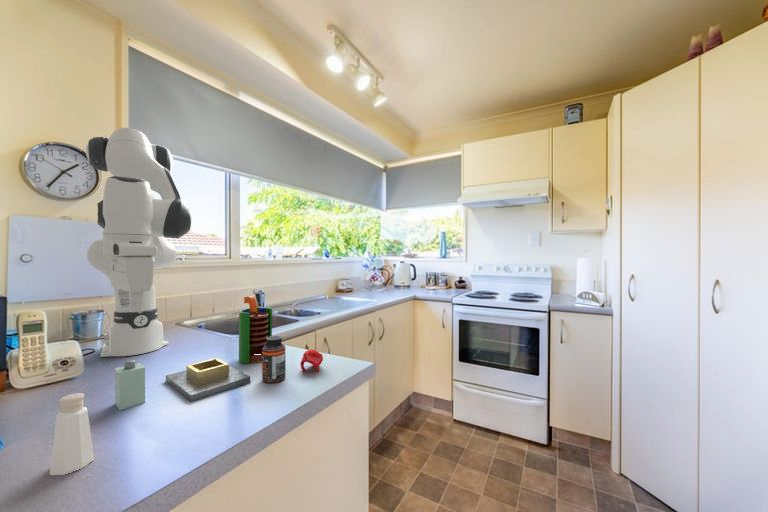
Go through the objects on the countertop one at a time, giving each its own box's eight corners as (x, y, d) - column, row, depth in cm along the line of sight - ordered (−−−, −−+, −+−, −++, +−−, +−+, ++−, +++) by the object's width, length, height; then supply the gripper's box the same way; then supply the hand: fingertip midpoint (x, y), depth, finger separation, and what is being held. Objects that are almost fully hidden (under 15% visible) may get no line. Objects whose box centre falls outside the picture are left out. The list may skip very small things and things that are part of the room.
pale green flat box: (115, 403, 70) (114, 361, 70) (139, 396, 74) (139, 356, 74) (119, 410, 67) (119, 366, 67) (145, 402, 71) (144, 360, 71)
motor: (257, 365, 94) (257, 299, 94) (231, 363, 96) (231, 298, 96) (275, 354, 104) (275, 295, 104) (251, 352, 106) (251, 294, 106)
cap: (320, 364, 86) (327, 347, 91) (299, 357, 86) (308, 340, 91) (316, 380, 91) (323, 363, 96) (296, 373, 91) (305, 357, 96)
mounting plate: (165, 381, 82) (165, 364, 82) (220, 366, 93) (220, 351, 93) (191, 401, 71) (190, 382, 71) (250, 382, 82) (250, 365, 82)
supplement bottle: (258, 379, 84) (257, 337, 83) (278, 373, 88) (278, 333, 88) (268, 386, 79) (268, 341, 79) (289, 379, 84) (289, 337, 84)
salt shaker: (39, 480, 46) (38, 407, 46) (59, 458, 51) (58, 392, 51) (86, 470, 48) (85, 400, 48) (101, 450, 53) (101, 386, 53)
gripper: (101, 248, 74) (102, 306, 74) (121, 247, 61) (122, 317, 61) (134, 249, 79) (135, 303, 79) (159, 247, 66) (160, 312, 66)
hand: (129, 309), depth 70 cm, fingers open, 8 cm apart
